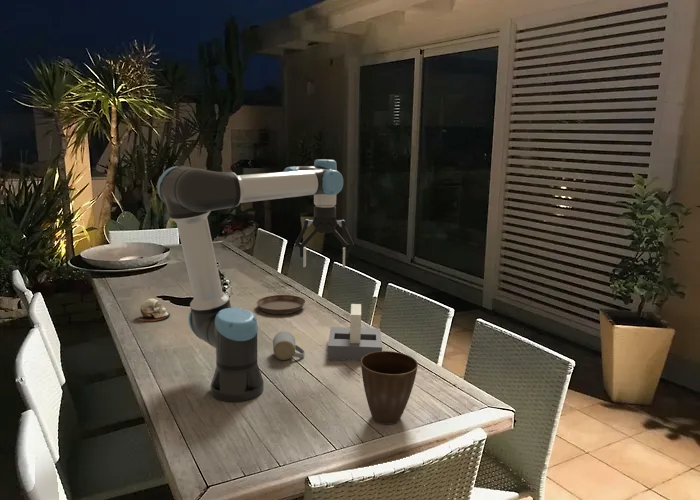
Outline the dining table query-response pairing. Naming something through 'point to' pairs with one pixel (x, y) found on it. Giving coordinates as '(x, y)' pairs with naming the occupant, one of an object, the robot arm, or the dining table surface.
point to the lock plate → (353, 351)
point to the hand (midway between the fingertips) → (324, 266)
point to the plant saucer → (281, 304)
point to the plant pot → (388, 383)
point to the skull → (153, 311)
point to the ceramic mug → (286, 346)
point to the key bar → (355, 323)
